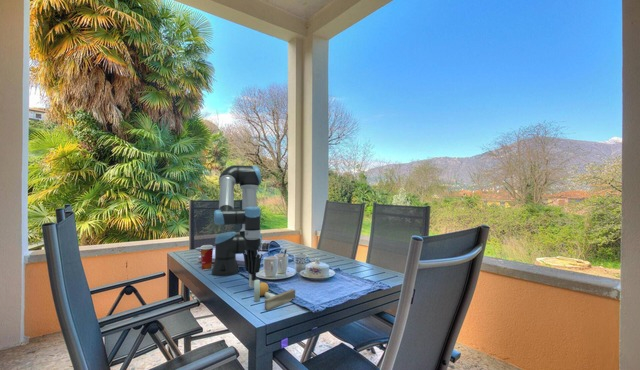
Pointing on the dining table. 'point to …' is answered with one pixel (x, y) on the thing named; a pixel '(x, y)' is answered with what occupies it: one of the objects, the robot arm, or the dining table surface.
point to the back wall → (279, 299)
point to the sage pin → (256, 290)
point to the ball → (263, 288)
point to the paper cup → (206, 256)
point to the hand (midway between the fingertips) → (252, 286)
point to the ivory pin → (269, 295)
